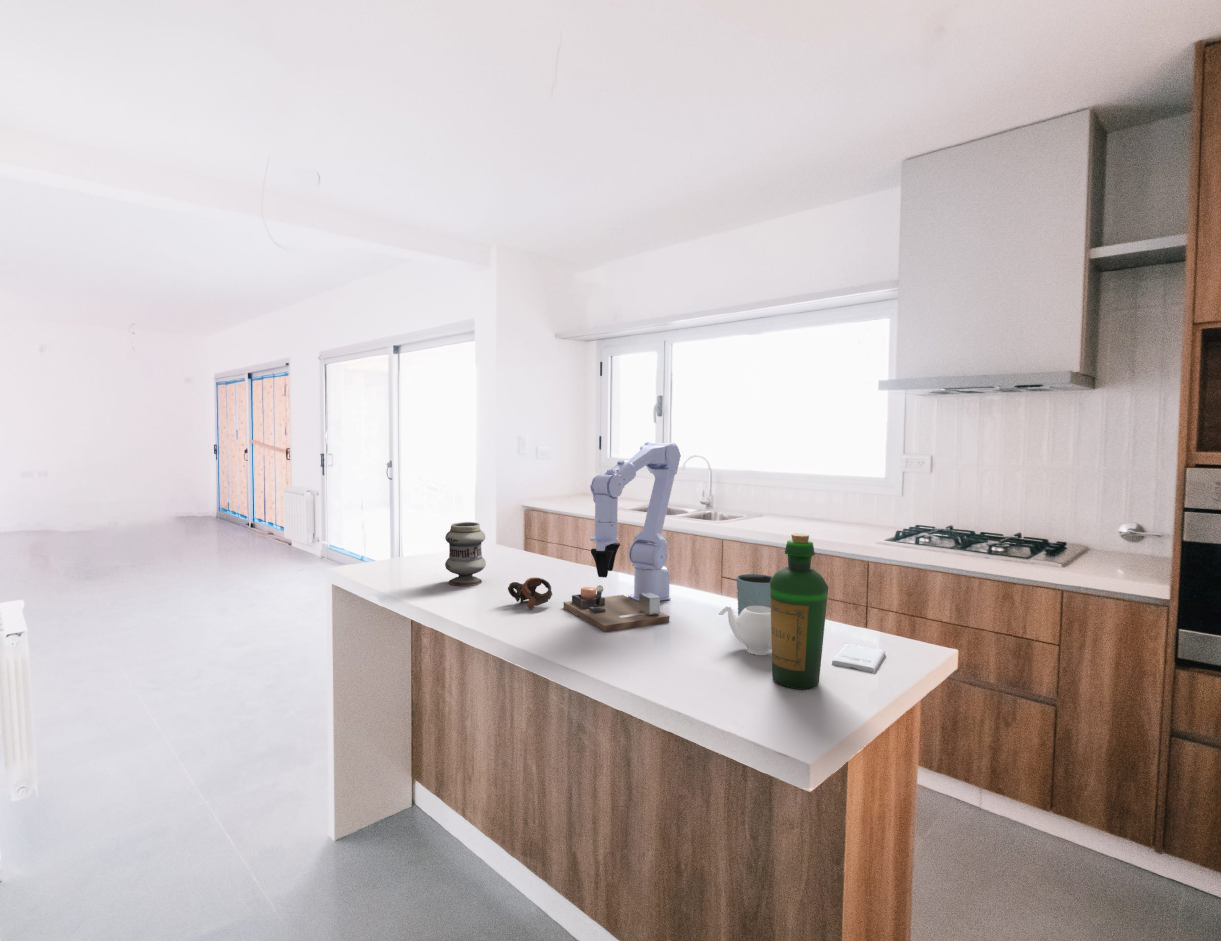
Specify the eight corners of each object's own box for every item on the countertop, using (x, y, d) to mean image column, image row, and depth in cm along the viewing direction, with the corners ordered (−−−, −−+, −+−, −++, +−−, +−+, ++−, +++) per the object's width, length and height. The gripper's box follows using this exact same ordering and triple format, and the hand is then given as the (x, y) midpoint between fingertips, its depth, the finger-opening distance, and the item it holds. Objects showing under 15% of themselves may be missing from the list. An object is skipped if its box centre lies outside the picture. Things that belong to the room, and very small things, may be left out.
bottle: (758, 671, 128) (763, 530, 127) (811, 670, 129) (816, 530, 127) (777, 693, 118) (782, 539, 116) (834, 692, 119) (840, 539, 117)
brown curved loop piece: (550, 601, 180) (556, 579, 176) (544, 625, 172) (550, 602, 168) (508, 589, 180) (513, 567, 176) (500, 613, 172) (505, 590, 168)
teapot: (728, 636, 150) (729, 596, 149) (811, 657, 137) (813, 613, 136) (706, 646, 143) (707, 604, 142) (791, 669, 130) (793, 623, 129)
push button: (591, 595, 173) (591, 586, 173) (598, 599, 169) (598, 589, 169) (578, 597, 171) (578, 588, 171) (584, 601, 168) (584, 591, 167)
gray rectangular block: (649, 608, 166) (649, 592, 166) (659, 613, 161) (660, 596, 161) (638, 609, 164) (639, 593, 164) (649, 615, 160) (649, 598, 160)
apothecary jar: (438, 585, 193) (438, 525, 192) (454, 577, 205) (454, 520, 204) (477, 588, 191) (477, 527, 190) (491, 579, 203) (491, 521, 202)
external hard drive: (884, 657, 139) (874, 675, 129) (845, 650, 144) (831, 667, 133) (885, 650, 139) (874, 667, 129) (845, 643, 144) (831, 659, 133)
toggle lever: (599, 604, 165) (602, 583, 163) (602, 608, 164) (605, 586, 162) (592, 605, 164) (595, 584, 162) (595, 608, 163) (598, 587, 161)
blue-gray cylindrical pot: (729, 629, 156) (731, 579, 155) (742, 618, 165) (743, 571, 164) (772, 635, 151) (774, 584, 150) (782, 624, 160) (784, 576, 159)
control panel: (622, 600, 181) (622, 587, 180) (669, 622, 161) (669, 608, 160) (563, 607, 172) (563, 594, 172) (604, 631, 152) (605, 617, 152)
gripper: (596, 516, 174) (596, 567, 175) (584, 524, 160) (584, 579, 161) (622, 517, 173) (621, 568, 174) (612, 525, 159) (612, 580, 160)
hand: (605, 573), depth 167 cm, fingers open, 7 cm apart
